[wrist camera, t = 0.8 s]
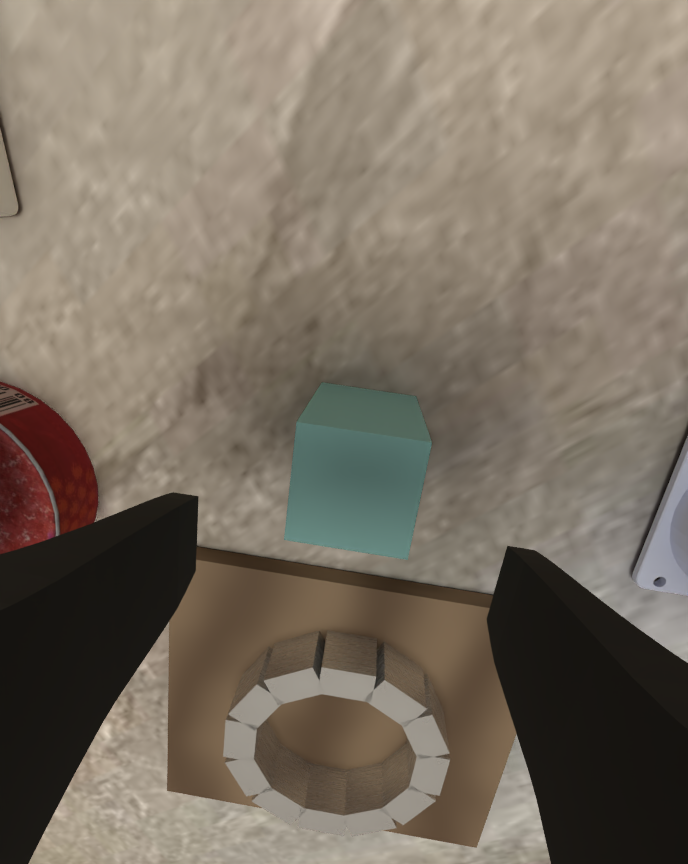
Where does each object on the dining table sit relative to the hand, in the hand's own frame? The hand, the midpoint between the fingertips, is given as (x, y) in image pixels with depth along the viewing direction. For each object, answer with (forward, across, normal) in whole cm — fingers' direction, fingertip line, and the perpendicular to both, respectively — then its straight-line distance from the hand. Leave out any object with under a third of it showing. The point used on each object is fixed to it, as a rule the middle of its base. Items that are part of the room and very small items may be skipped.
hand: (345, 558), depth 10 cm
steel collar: (+9, -1, +15) cm, 18 cm away
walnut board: (+9, -1, +15) cm, 18 cm away
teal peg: (+10, 0, 0) cm, 10 cm away
